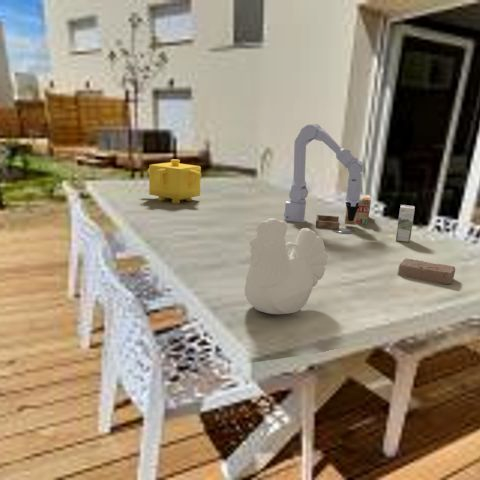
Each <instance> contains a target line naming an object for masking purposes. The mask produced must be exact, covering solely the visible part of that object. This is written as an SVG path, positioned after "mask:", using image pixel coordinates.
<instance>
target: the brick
mask: <svg viewBox="0 0 480 480" xmlns="http://www.w3.org/2000/svg"><path fill="white" fill-rule="evenodd" d="M397 270H398V271H397V275H398V276H401V277H406V278H411V279H415V280H421V281H426V282H431V283H435V284H442V285H443V284H445V285H450V284H451V283H452V282H453V280H454V278H455V273H456V267H455V266H453V265H447V264H441V263H432V262H428V261H424V260H419V259H412V258H411V259H410V258H404V259H403V260H402V261H401V262H400V263H399V266H398V269H397Z"/></svg>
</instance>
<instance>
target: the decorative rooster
mask: <svg viewBox="0 0 480 480" xmlns="http://www.w3.org/2000/svg"><path fill="white" fill-rule="evenodd" d="M287 231H288V224H287V223H286V221H285V220H280V219H278V218H274V217H270V218H268V219H266V220H262V221H259V223H258V224H257V226H256V233H255V234H254V235H253V238H252V239H250V240H248V241H249V245H250V247H251V248H250V265H249V268H248V270H247V273H246V276H245V286H244V296H245V298H246V301H247V302H249V304H250V305H251V306H253V308H254V309H255V310H256V311H259V312H261V313H262V312H263V313H265V314H269V315H288V314H293V313H294V314H295V313H297V312H298V311H300V310H302V308H303V307H304V306H306V304H307V302H308V301H309V298H310V296H311V294H312V290H313V288H314V287H315V286H317V284H318V282H319V281H320V280H321V279H323V277H324V275H325V270H326V265H327V264H328V258H329V257H328V253H327V252H326V251H325V250H326V246H325V243H324V240H323V239H322V237H319V235H317V233H316V232H315V231H314V230H312V229H310V228H309V227H304V228H300V230H299V232H298V233H297V236H296V239H295V242H293V241H289V242H286V238H285V236H286V233H287ZM290 248H292V249H291V251H290V254H288V251H289V249H290Z"/></svg>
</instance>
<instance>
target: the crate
mask: <svg viewBox="0 0 480 480" xmlns="http://www.w3.org/2000/svg"><path fill="white" fill-rule="evenodd" d="M339 219H340V218H339V216H337V215H335V216H334V215H325V214H316V218H315V220H316V221H315V228H319V229H328V230H329V229H331V230H332V229H339V228H340V222H339Z"/></svg>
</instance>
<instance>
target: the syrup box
mask: <svg viewBox="0 0 480 480" xmlns="http://www.w3.org/2000/svg"><path fill="white" fill-rule="evenodd" d="M415 208H416V207H415V206H414V205H407V204H400V208H399V214H398V220H397V227H396V234H395V242H401V243H409V244H410V242H411V238H412V237H411V236H412V230H413V224H414V216H415V210H416V209H415Z"/></svg>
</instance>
